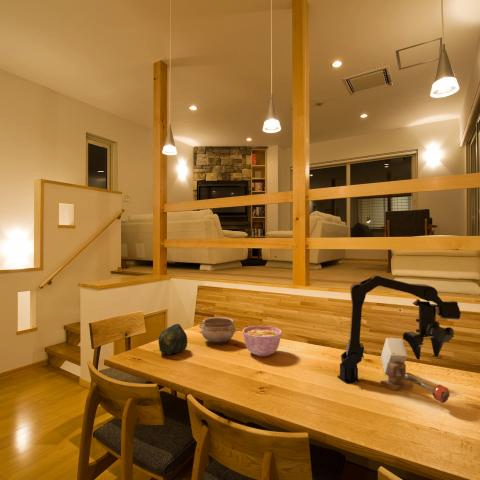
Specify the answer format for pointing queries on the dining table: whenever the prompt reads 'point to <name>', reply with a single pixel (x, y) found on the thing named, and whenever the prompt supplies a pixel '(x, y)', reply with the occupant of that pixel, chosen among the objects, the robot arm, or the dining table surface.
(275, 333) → the bowl of food
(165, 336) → the squash
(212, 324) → the cooking pot
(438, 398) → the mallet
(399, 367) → the wall mount bracket
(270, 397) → the dining table surface
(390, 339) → the skincare box
